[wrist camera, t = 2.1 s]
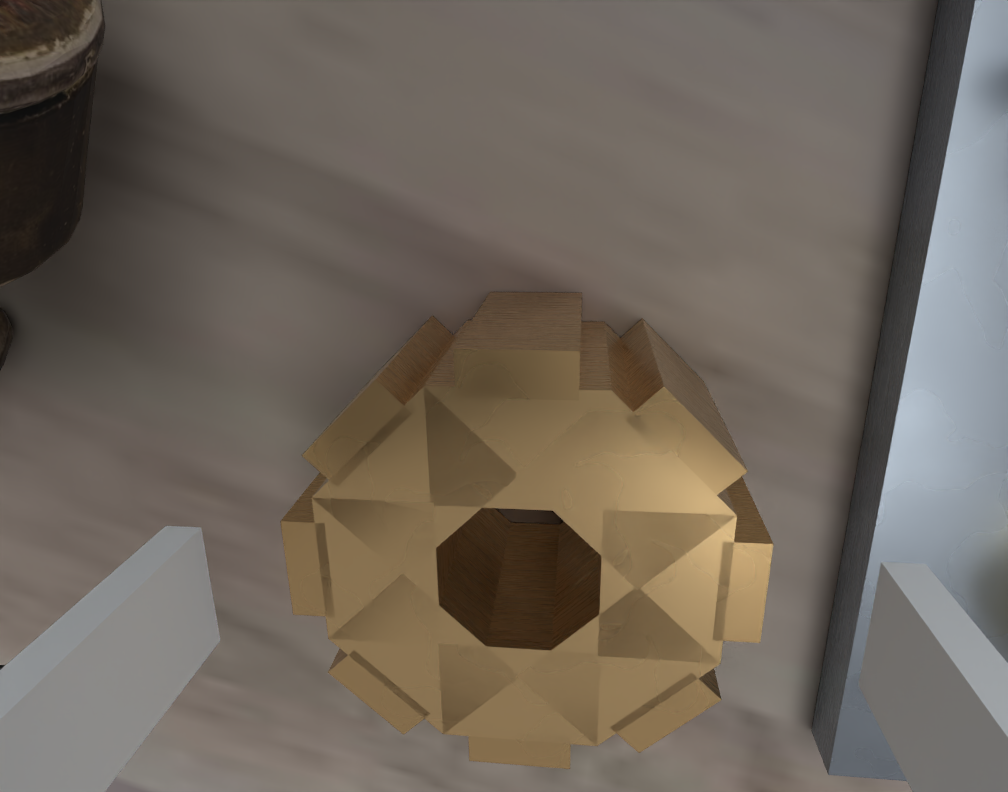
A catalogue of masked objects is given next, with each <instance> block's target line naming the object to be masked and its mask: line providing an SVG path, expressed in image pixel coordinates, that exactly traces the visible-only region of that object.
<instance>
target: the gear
mask: <svg viewBox="0 0 1008 792" xmlns="http://www.w3.org/2000/svg"><path fill="white" fill-rule="evenodd" d="M581 309H582V293H558V292H490V293H489V294H488V296H487V298H486V299H485V301H484V302H483V304H482V305H481V307H480V308H479V310H478V312H477V313H476V315H475V316H474V318H473V319H472V320H468V321H467V322H466V323H465V324H464V325H463V326H462V327H461V328H460V329H459V330H458V331H457V332H456V333H455V334H454V335H452V334H451V333H450V332H449V331H448V330H447V329H446V328H445V327H444V326H443V325H442V324H441V323H440V322H439V321H438V320H437V319H436V318H435V317H434V316H431V317H430V319H429V320H428V321H427V322H426V323H425V324H424V325H423V326H422V327H421V328H420V329H419V330H418V331H417V332H416V333H415V334H414V335H413V336H412V337H411V338H410V339H409V340H408V341H407V342H406V343H405V344H404V345H403V346H402V347H401V349H400V350H399V351H398V352H397V353H396V354H395V355H394V356H393V357H392V358H391V359H390V360H389V361H388V362H387V363H386V364H385V365H384V366H383V367H382V368H381V369H380V370H379V371H378V372H377V373H376V374H375V375H374V377H373V378H372V379H371V380H370V381H369V382H368V383H367V384H366V385H365V386H364V388H363V389H362V390H361V391H360V392H359V393H358V394H357V395H356V396H355V397H354V399H353V400H352V401H351V402H350V403H349V404H348V405H347V406H346V407H345V408H344V410H343V411H342V412H341V413H340V414H339V415H338V416H337V417H336V418H335V419H334V421H333V422H332V423H331V424H330V425H329V426H328V427H327V428H326V429H325V430H324V432H323V433H322V434H321V435H320V436H319V437H318V438H317V439H316V440H315V441H314V442H313V444H312V445H311V446H310V447H309V448H308V449H307V450H306V451H305V452H304V453H303V455H302V457H304V458H305V459H306V460H307V461H308V462H309V463H310V464H312V465H313V466H314V467H315V468H316V469H317V470H318V471H319V472H320V473H319V474H318V476H317V477H316V478H315V479H314V480H313V482H312V483H311V484H310V485H309V487H308V488H307V489H306V490H305V492H304V493H303V494H302V495H301V497H300V498H299V499H298V500H297V502H296V503H295V504H294V505H293V506H292V508H291V509H290V510H289V511H288V513H287V514H286V515H285V516H284V518H283V519H282V520H281V521H280V522H281V529H282V536H283V544H284V551H285V558H286V565H287V573H288V580H289V587H290V594H291V602H292V609H293V614H294V615H310V616H326V623H327V631H328V639H329V640H331V641H332V642H333V643H334V644H335V645H337V646H338V647H339V648H340V649H339V651H338V653H337V655H336V657H335V659H334V661H333V663H332V665H331V667H330V669H329V671H328V673H329V674H330V675H332V676H333V677H334V678H335V679H336V680H338V681H339V682H340V683H341V684H343V685H344V686H345V687H346V688H347V689H349V690H350V691H351V692H352V693H354V694H355V695H356V696H357V697H358V698H360V699H361V700H362V701H363V702H364V703H366V704H367V705H368V706H369V707H371V708H372V709H373V710H374V711H375V712H377V713H378V714H379V715H380V716H382V717H383V718H384V719H385V720H386V721H388V722H389V723H390V724H391V725H392V726H394V727H395V728H396V729H397V730H399V731H400V732H401V733H402V734H403V735H404V734H405V733H406V732H407V731H409V730H410V729H411V728H413V727H414V726H415V725H417V724H418V723H419V722H421V721H422V720H423V719H426V720H427V721H428V722H429V723H430V724H432V725H433V726H434V727H435V728H436V729H438V730H439V731H440V732H441V733H442V734H449V735H462V736H469V761H479V762H491V763H503V764H515V765H527V766H539V767H552V768H564V769H570V745H571V744H577V745H589V746H598V745H599V744H601V743H602V742H604V741H605V740H607V739H608V738H610V737H611V736H613V735H614V734H616V733H617V734H618V735H619V736H620V737H621V738H623V739H624V740H625V741H626V742H627V743H628V744H629V745H630V746H632V747H633V748H634V749H635V750H636V751H637V752H638V753H640V752H642V751H643V750H645V749H646V748H648V747H649V746H651V745H652V744H654V743H655V742H657V741H659V740H660V739H662V738H663V737H665V736H666V735H668V734H669V733H671V732H673V731H674V730H676V729H677V728H679V727H680V726H682V725H683V724H685V723H686V722H688V721H690V720H691V719H693V718H694V717H696V716H697V715H699V714H700V713H702V712H704V711H705V710H707V709H708V708H710V707H711V706H713V705H714V704H716V703H717V702H719V701H721V696H720V692H719V688H718V684H717V680H716V676H715V671H714V668H715V667H716V666H718V665H719V664H720V662H721V653H722V644H723V641H737V642H753V643H760V640H761V632H762V625H763V618H764V610H765V603H766V595H767V588H768V581H769V573H770V566H771V558H772V551H773V542H772V540H771V538H770V536H769V534H768V531H767V529H766V527H765V525H764V523H763V521H762V519H761V516H760V514H759V512H758V510H757V508H756V506H755V504H754V501H753V499H752V497H751V495H750V493H749V491H748V489H747V486H746V484H745V482H744V480H743V478H742V476H743V475H744V474H745V473H747V472H748V471H747V469H746V467H745V465H744V462H743V460H742V458H741V456H740V454H739V452H738V450H737V448H736V446H735V444H734V442H733V440H732V438H731V436H730V434H729V432H728V430H727V428H726V426H725V424H724V422H723V420H722V418H721V416H720V414H719V412H718V410H717V408H716V406H715V404H714V402H713V399H712V397H711V395H710V393H709V391H708V389H707V387H706V385H705V383H704V381H703V380H702V379H701V378H700V377H699V376H698V375H697V374H696V373H695V372H694V371H693V370H692V369H691V368H690V367H689V366H688V365H687V364H686V363H685V362H684V361H683V360H682V359H681V358H680V357H679V356H678V355H677V353H676V352H675V351H674V350H673V349H672V348H671V347H670V346H669V345H668V344H667V343H666V342H665V341H664V340H663V339H662V338H661V337H660V336H659V335H658V334H657V333H656V332H655V331H654V330H653V329H652V328H651V327H650V326H649V325H648V324H647V323H646V322H645V320H644V319H643V318H642V319H641V320H640V321H639V322H637V323H636V324H635V325H634V326H633V327H632V328H631V329H630V330H629V331H627V332H626V333H625V334H624V335H623V336H622V337H621V338H620V337H619V336H618V335H617V334H616V333H615V332H614V331H613V330H612V329H611V328H610V327H609V326H608V325H607V324H606V323H605V322H584V321H581ZM496 508H505V509H528V510H552V511H554V512H555V513H556V514H557V515H558V516H559V517H560V518H561V519H562V520H563V521H564V522H562V523H561V524H560V525H557V524H535V523H512V522H510V521H509V520H508V519H506V518H505V517H504V516H503V515H502V514H501V513H500V512H499V511H498V510H497V509H496Z"/></svg>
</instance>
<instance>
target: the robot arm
mask: <svg viewBox="0 0 1008 792" xmlns="http://www.w3.org/2000/svg"><path fill="white" fill-rule="evenodd" d="M219 642H220V635H219V629H218V623H217V617H216V611H215V606H214V600H213V594H212V588H211V582H210V576H209V570H208V564H207V558H206V552H205V547H204V541H203V535H202V529H201V527H181V526H165V527H164V528H163V529H162V530H160V531H159V532H158V533H157V534H156V535H155V536H154V537H152V538H151V539H150V540H149V541H148V542H147V543H146V544H144V545H143V546H142V547H141V548H140V549H139V550H137V551H136V552H135V553H134V554H133V555H132V556H131V557H129V558H128V559H127V560H126V561H125V562H124V563H123V564H121V565H120V566H119V567H118V568H117V569H116V570H115V571H113V572H112V573H111V574H110V575H109V576H108V577H106V578H105V579H104V580H103V581H102V582H101V583H100V584H98V585H97V586H96V587H95V588H94V589H93V590H92V591H90V592H89V593H88V594H87V595H86V596H85V597H83V598H82V599H81V600H80V601H79V602H78V603H77V604H75V605H74V606H73V607H72V608H71V609H70V610H69V611H67V612H66V613H65V614H64V615H63V616H62V617H60V618H59V619H58V620H57V621H56V622H55V623H54V624H52V625H51V626H50V627H49V628H48V629H47V630H46V631H44V632H43V633H42V634H41V635H40V636H39V637H38V638H36V639H35V640H34V641H33V642H32V643H31V644H29V645H28V646H27V647H26V648H25V649H24V650H23V651H21V652H20V653H19V654H18V655H17V656H16V657H15V658H13V659H12V660H11V661H10V662H9V663H8V664H6V665H0V792H105V791H106V790H107V789H108V787H109V786H110V784H111V783H112V782H113V781H114V779H115V778H116V777H117V775H118V774H119V773H120V772H121V770H122V769H123V768H124V766H125V765H126V764H127V762H128V761H129V760H130V758H131V757H132V756H133V755H134V753H135V752H136V751H137V749H138V748H139V747H140V745H141V744H142V743H143V741H144V740H145V739H146V737H147V736H148V735H149V734H150V732H151V731H152V730H153V728H154V727H155V726H156V724H157V723H158V722H159V720H160V719H161V718H162V717H163V715H164V714H165V713H166V711H167V710H168V709H169V707H170V706H171V705H172V703H173V702H174V701H175V699H176V698H177V697H178V696H179V694H180V693H181V692H182V690H183V689H184V688H185V686H186V685H187V684H188V682H189V681H190V680H191V679H192V677H193V676H194V675H195V673H196V672H197V671H198V669H199V668H200V667H201V665H202V664H203V663H204V662H205V660H206V659H207V658H208V656H209V655H210V654H211V652H212V651H213V650H214V648H215V647H216V646H217V644H218V643H219ZM858 685H859V687H860V689H861V691H862V693H863V695H864V697H865V699H866V701H867V703H868V705H869V707H870V709H871V711H872V713H873V715H874V717H875V719H876V721H877V723H878V725H879V727H880V729H881V730H882V732H883V734H884V736H885V738H886V740H887V742H888V744H889V746H890V748H891V750H892V752H893V754H894V756H895V758H896V760H897V762H898V764H899V766H900V768H901V770H902V772H903V774H904V776H905V778H906V780H907V782H908V783H909V785H910V787H911V789H912V791H913V792H1008V663H1007V662H1006V661H1005V659H1004V658H1003V657H1002V656H1001V654H1000V653H999V652H998V651H997V650H996V648H995V647H994V646H993V645H992V644H991V642H990V641H989V640H988V639H987V638H986V636H985V635H984V634H983V633H982V631H981V630H980V629H979V628H978V627H977V625H976V624H975V623H974V622H973V621H972V619H971V618H970V617H969V616H968V615H967V613H966V612H965V611H964V610H963V609H962V607H961V606H960V605H959V604H958V602H957V601H956V600H955V599H954V598H953V596H952V595H951V594H950V593H949V592H948V590H947V589H946V588H945V587H944V586H943V584H942V583H941V582H940V581H939V579H938V578H937V577H936V576H935V575H934V573H933V572H932V571H931V570H930V569H929V567H928V566H927V565H926V564H914V563H895V562H881V566H880V571H879V576H878V582H877V587H876V593H875V598H874V603H873V609H872V614H871V619H870V625H869V630H868V635H867V641H866V646H865V652H864V657H863V662H862V668H861V673H860V678H859V684H858Z"/></svg>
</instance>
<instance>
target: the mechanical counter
mask: <svg viewBox="0 0 1008 792" xmlns="http://www.w3.org/2000/svg"><path fill="white" fill-rule="evenodd" d="M104 31H105V22H104V15H103V8H102V2H101V0H0V287H2V286H4V285H6V284H8V283H10V282H12V281H14V280H16V279H18V278H20V277H22V276H24V275H26V274H28V273H30V272H31V271H33V270H35V269H36V268H38V267H39V266H40V265H41V264H42V263H43V262H45V261H46V260H47V259H48V258H49V257H51V256H52V255H53V254H54V253H55V252H56V251H58V250H59V249H60V248H61V247H62V246H63V245H65V244H66V243H67V242H68V241H69V239H70V237H71V235H72V233H73V231H74V229H75V227H76V226H77V224H78V222H79V220H80V216H81V211H82V206H83V195H84V183H85V171H86V159H87V149H88V140H89V131H90V122H91V113H92V104H93V95H94V86H95V77H96V68H97V59H98V56H99V53H100V50H101V47H102V45H103V39H104ZM11 341H12V327H11V324H10V322H9V320H8V318H7V316H6V314H5V312H4V310H2V309H1V308H0V370H1V368H2V366H3V365H4V362H5V359H6V356H7V353H8V350H9V347H10V344H11Z"/></svg>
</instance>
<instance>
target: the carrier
mask: <svg viewBox="0 0 1008 792" xmlns="http://www.w3.org/2000/svg"><path fill="white" fill-rule="evenodd" d="M881 562H895V563H914V564H926V565H927V566H928V567H929V569H930V570H931V571H932V572H933V573H934V575H935V576H936V577H937V578H938V579H939V581H940V582H941V583H942V584H943V586H944V587H945V588H946V589H947V590H948V592H949V593H950V594H951V595H952V596H953V598H954V599H955V600H956V601H957V602H958V604H959V605H960V606H961V607H962V609H963V610H964V611H965V612H966V613H967V615H968V616H969V617H970V618H971V619H972V621H973V622H974V623H975V624H976V625H977V627H978V628H979V629H980V630H981V631H982V633H983V634H984V635H985V636H986V638H987V639H988V640H989V641H990V642H991V644H992V645H993V646H994V647H995V648H996V650H997V651H998V652H999V653H1000V654H1001V656H1002V657H1003V658H1004V659H1005V661H1006V662H1007V663H1008V0H939V2H938V8H937V14H936V19H935V25H934V31H933V36H932V42H931V48H930V54H929V59H928V65H927V71H926V77H925V82H924V88H923V94H922V100H921V105H920V111H919V117H918V123H917V128H916V134H915V140H914V146H913V151H912V157H911V163H910V168H909V174H908V180H907V186H906V191H905V197H904V203H903V209H902V214H901V220H900V226H899V232H898V237H897V243H896V249H895V255H894V260H893V266H892V272H891V278H890V283H889V289H888V295H887V300H886V306H885V312H884V318H883V323H882V329H881V335H880V341H879V346H878V352H877V358H876V364H875V369H874V375H873V381H872V387H871V392H870V398H869V404H868V410H867V415H866V421H865V427H864V433H863V438H862V444H861V450H860V455H859V461H858V467H857V473H856V478H855V484H854V490H853V496H852V501H851V507H850V513H849V519H848V524H847V530H846V536H845V542H844V547H843V553H842V559H841V565H840V570H839V576H838V582H837V587H836V593H835V599H834V605H833V610H832V616H831V622H830V628H829V633H828V639H827V645H826V651H825V656H824V662H823V668H822V674H821V679H820V685H819V691H818V697H817V702H816V708H815V714H814V719H813V725H812V733H813V736H814V739H815V741H816V744H817V746H818V749H819V752H820V754H821V757H822V759H823V762H824V765H825V767H826V770H827V773H828V775H839V776H851V777H864V778H877V779H889V780H902V781H907V780H906V778H905V776H904V774H903V772H902V770H901V768H900V766H899V764H898V762H897V760H896V758H895V756H894V754H893V752H892V750H891V748H890V746H889V744H888V742H887V740H886V738H885V736H884V734H883V732H882V730H881V729H880V727H879V725H878V723H877V721H876V719H875V717H874V715H873V713H872V711H871V709H870V707H869V705H868V703H867V701H866V699H865V697H864V695H863V693H862V691H861V689H860V687H859V685H858V684H859V678H860V673H861V668H862V662H863V657H864V652H865V646H866V641H867V635H868V630H869V625H870V619H871V614H872V609H873V603H874V598H875V593H876V587H877V582H878V576H879V571H880V566H881Z"/></svg>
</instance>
